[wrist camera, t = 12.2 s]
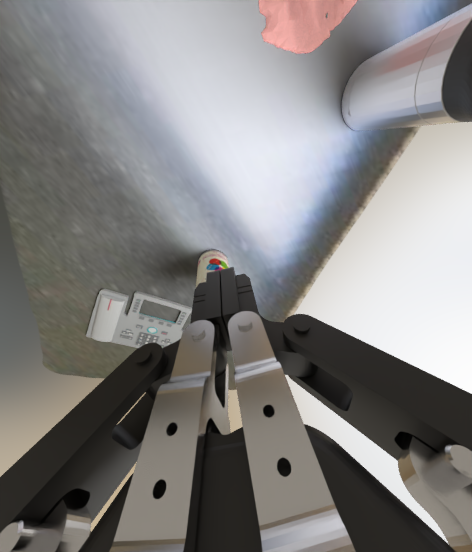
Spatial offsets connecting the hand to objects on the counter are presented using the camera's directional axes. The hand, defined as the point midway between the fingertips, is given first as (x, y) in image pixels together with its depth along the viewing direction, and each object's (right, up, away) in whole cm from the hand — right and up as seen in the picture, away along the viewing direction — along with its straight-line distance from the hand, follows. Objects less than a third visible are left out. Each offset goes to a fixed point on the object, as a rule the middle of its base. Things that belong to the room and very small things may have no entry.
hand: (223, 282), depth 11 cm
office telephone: (-25, -12, +43) cm, 51 cm away
